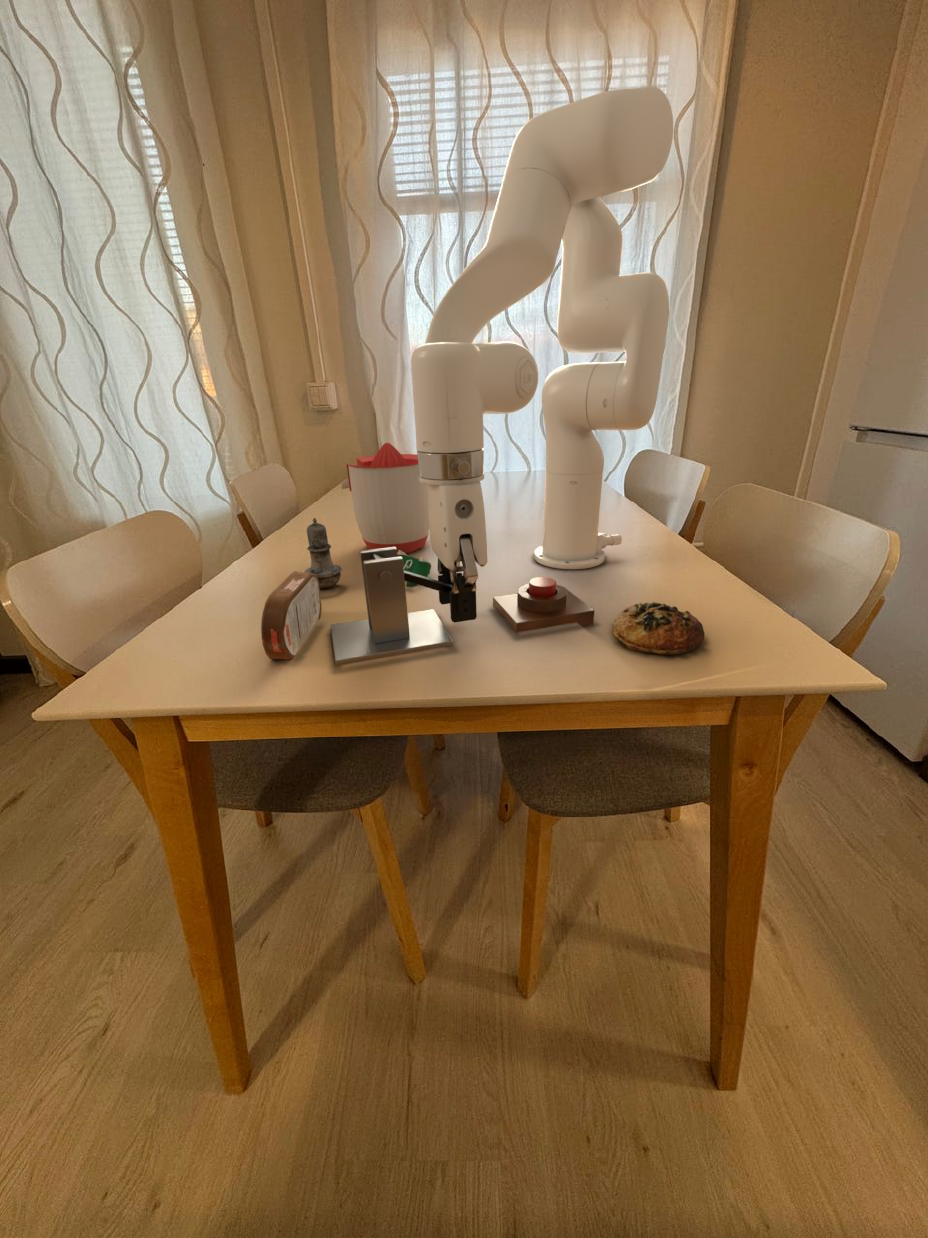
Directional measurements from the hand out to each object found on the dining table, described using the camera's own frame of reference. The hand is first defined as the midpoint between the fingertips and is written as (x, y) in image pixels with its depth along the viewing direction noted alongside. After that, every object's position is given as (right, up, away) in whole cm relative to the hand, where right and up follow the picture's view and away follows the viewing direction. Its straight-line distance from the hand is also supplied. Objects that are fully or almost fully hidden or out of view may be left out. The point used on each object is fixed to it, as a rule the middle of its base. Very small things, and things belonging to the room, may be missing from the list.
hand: (457, 609), depth 65 cm
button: (+11, +2, +3) cm, 12 cm away
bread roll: (+25, -4, -2) cm, 25 cm away
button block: (+12, -1, +4) cm, 12 cm away
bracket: (-9, -4, -1) cm, 10 cm away
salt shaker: (-21, +3, +16) cm, 27 cm away
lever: (-5, +3, -3) cm, 7 cm away
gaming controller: (-9, +5, +19) cm, 22 cm away
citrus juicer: (-14, +13, +37) cm, 41 cm away
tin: (-20, -4, 0) cm, 21 cm away
